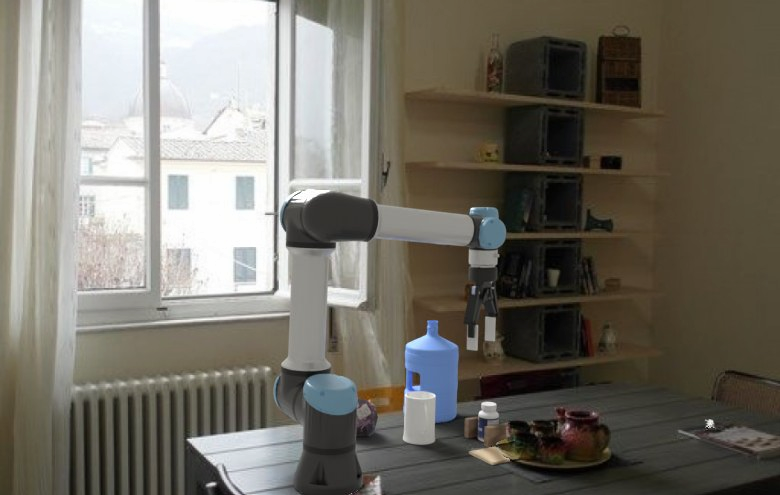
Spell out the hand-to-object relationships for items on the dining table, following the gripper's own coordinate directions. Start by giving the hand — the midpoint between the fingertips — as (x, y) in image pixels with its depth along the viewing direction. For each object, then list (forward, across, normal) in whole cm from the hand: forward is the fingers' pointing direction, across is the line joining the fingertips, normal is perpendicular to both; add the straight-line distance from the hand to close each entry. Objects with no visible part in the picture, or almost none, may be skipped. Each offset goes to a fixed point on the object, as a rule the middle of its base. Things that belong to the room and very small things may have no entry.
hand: (481, 345), depth 203 cm
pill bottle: (+25, -1, -3) cm, 25 cm away
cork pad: (+25, -13, -9) cm, 29 cm away
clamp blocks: (+25, -1, -3) cm, 25 cm away
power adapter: (+27, +41, -53) cm, 72 cm away
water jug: (+25, +11, +19) cm, 33 cm away
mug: (+25, -12, +12) cm, 30 cm away
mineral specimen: (+25, -15, +29) cm, 41 cm away
